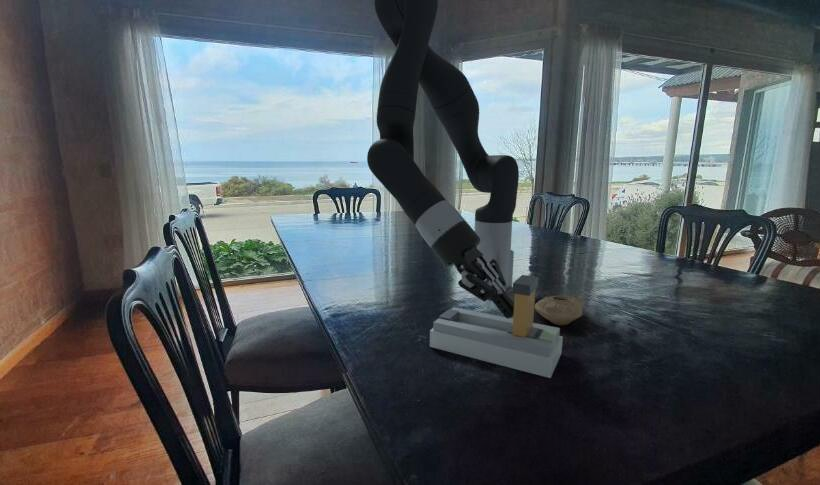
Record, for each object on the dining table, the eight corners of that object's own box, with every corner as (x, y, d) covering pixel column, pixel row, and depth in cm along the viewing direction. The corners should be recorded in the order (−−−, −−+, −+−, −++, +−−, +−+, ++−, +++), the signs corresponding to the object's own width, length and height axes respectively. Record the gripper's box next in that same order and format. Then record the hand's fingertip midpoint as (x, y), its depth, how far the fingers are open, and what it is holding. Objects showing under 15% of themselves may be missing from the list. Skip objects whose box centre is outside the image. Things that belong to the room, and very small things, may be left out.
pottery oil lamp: (599, 316, 80) (607, 292, 76) (559, 346, 76) (564, 322, 71) (564, 292, 86) (569, 268, 82) (525, 318, 82) (528, 295, 77)
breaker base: (429, 346, 67) (430, 320, 66) (451, 328, 75) (452, 304, 74) (550, 378, 57) (552, 347, 56) (561, 353, 65) (563, 326, 64)
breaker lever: (505, 341, 62) (508, 282, 60) (514, 329, 67) (518, 274, 65) (530, 347, 60) (535, 286, 58) (538, 334, 65) (542, 277, 63)
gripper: (445, 223, 60) (520, 315, 56) (476, 215, 71) (540, 291, 67) (414, 253, 63) (483, 341, 60) (448, 240, 75) (508, 314, 71)
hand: (513, 314), depth 63 cm, fingers closed
